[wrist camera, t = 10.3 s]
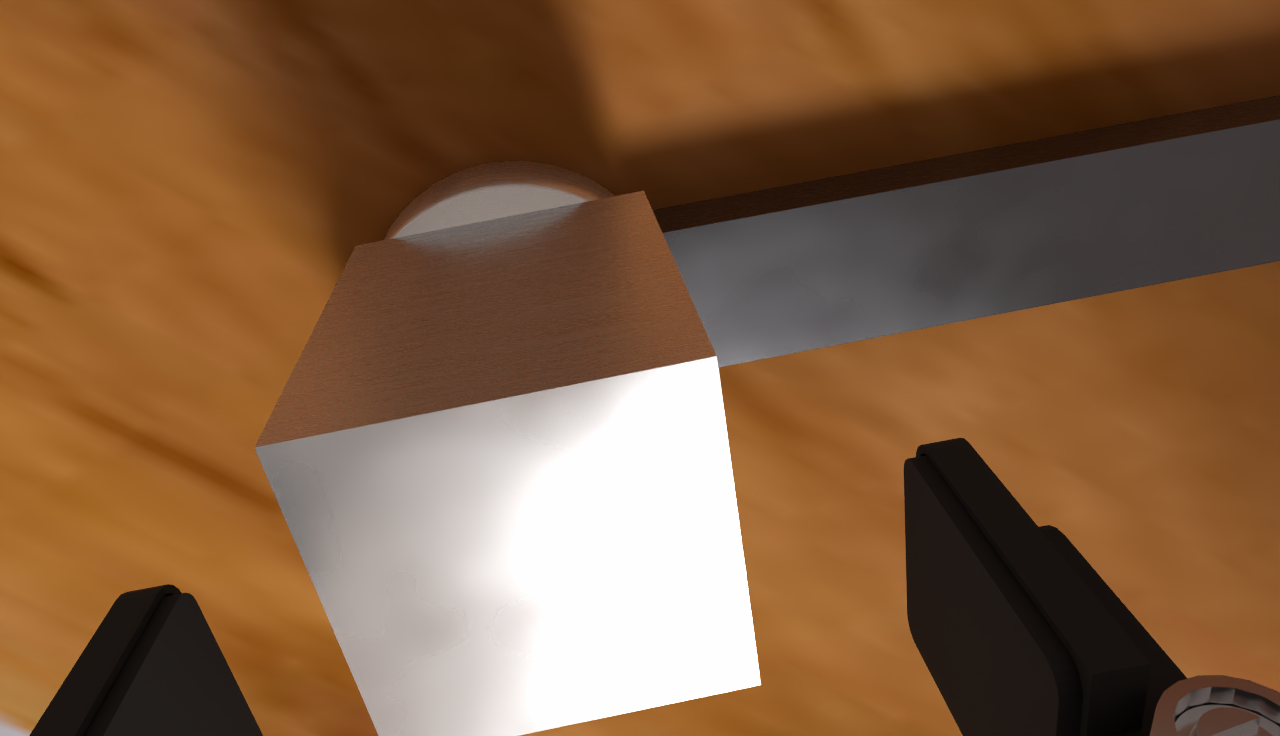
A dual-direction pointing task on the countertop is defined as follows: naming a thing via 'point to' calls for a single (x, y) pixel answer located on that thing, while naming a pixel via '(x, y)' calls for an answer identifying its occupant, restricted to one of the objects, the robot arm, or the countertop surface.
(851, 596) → the countertop surface
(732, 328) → the ratchet
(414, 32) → the countertop surface
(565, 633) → the white block
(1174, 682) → the robot arm
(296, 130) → the countertop surface
